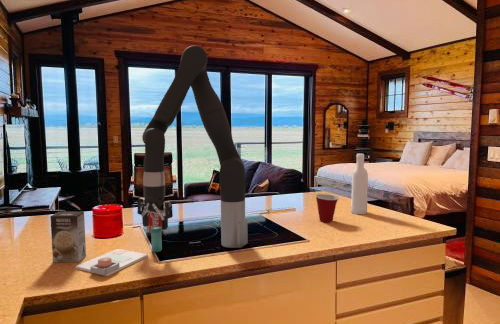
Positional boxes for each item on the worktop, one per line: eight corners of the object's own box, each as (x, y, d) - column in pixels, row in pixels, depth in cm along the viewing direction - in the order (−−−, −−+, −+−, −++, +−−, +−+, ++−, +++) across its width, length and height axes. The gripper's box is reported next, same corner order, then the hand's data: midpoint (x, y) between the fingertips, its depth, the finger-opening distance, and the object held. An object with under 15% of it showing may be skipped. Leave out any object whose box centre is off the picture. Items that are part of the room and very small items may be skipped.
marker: (164, 249, 135) (163, 227, 135) (157, 253, 132) (156, 230, 131) (156, 248, 137) (155, 226, 136) (149, 251, 134) (148, 229, 133)
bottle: (363, 215, 182) (365, 154, 179) (348, 213, 187) (349, 154, 183) (369, 212, 188) (371, 153, 185) (354, 210, 193) (355, 152, 190)
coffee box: (51, 262, 124) (48, 216, 122) (60, 255, 130) (57, 211, 128) (79, 262, 124) (76, 215, 122) (87, 255, 131) (84, 210, 129)
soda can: (146, 235, 153) (145, 206, 152) (146, 230, 160) (145, 203, 159) (164, 233, 155) (163, 205, 154) (163, 228, 162) (162, 202, 161)
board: (148, 256, 129) (147, 250, 128) (104, 277, 112) (104, 270, 111) (117, 250, 135) (117, 244, 135) (72, 269, 118) (71, 262, 117)
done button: (114, 264, 116) (114, 258, 116) (104, 269, 113) (104, 263, 113) (105, 262, 118) (105, 256, 118) (95, 267, 115) (94, 261, 114)
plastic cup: (338, 224, 166) (339, 198, 165) (314, 223, 168) (314, 197, 167) (338, 218, 177) (338, 193, 175) (315, 217, 179) (315, 193, 178)
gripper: (176, 184, 132) (177, 228, 134) (146, 180, 139) (147, 222, 140) (163, 187, 126) (163, 233, 127) (131, 183, 132) (132, 227, 134)
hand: (155, 227), depth 134 cm, fingers open, 8 cm apart
